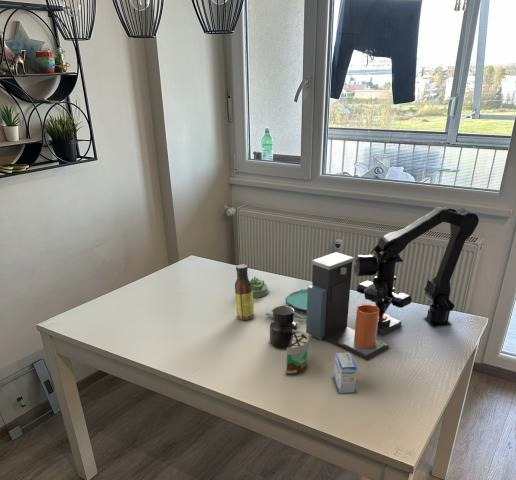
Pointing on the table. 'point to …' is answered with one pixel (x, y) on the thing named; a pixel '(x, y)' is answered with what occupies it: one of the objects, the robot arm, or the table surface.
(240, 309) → the sauce bottle
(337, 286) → the coffee maker
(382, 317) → the button
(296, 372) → the food container
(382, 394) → the table surface
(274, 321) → the ink bottle
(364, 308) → the cup
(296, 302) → the cutlery set
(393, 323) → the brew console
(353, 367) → the medicine box
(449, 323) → the robot arm
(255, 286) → the decorative artifact
